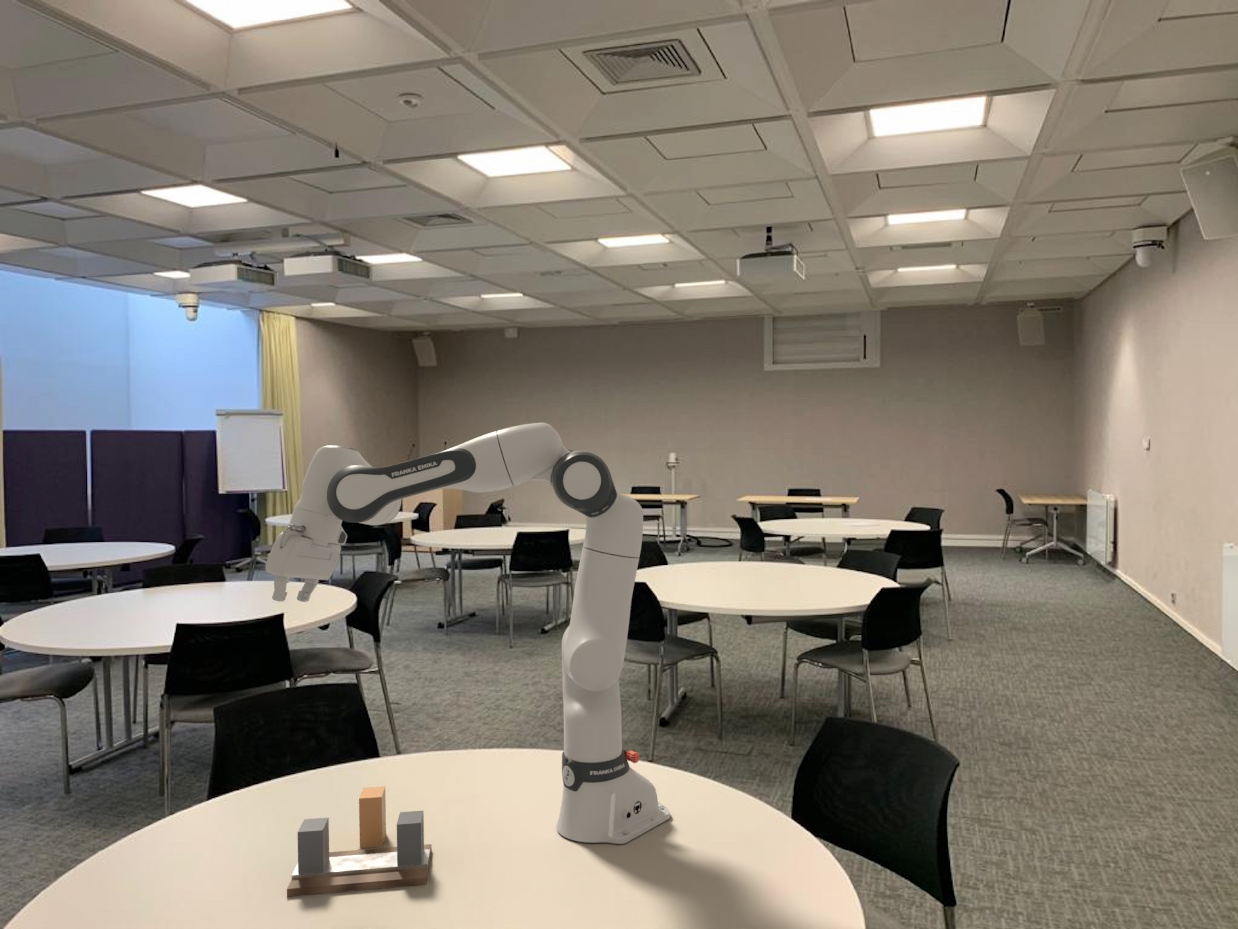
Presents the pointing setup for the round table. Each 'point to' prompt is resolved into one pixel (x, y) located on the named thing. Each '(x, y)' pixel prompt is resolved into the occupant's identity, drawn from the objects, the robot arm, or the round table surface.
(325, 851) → the mounted modules
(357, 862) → the light grey flat plate
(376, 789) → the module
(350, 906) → the round table surface
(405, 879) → the board
